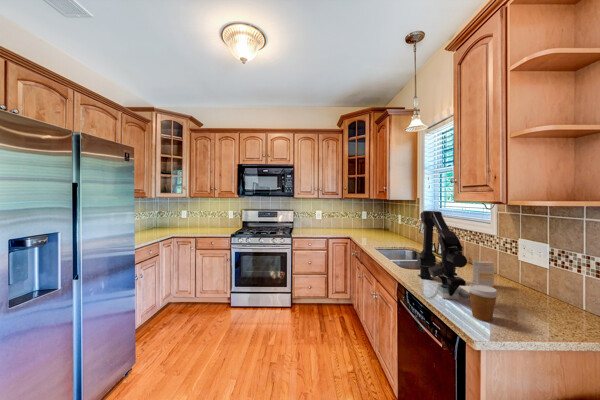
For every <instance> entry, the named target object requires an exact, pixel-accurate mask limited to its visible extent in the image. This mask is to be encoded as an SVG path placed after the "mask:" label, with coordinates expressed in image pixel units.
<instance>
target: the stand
mask: <svg viewBox="0 0 600 400" xmlns="http://www.w3.org/2000/svg"><path fill="white" fill-rule="evenodd" d="M469 285H470V284H466V286H459V287H458V289H459V295H461V296H462V297H463V298H470V292H469V290H468V287H469Z"/></svg>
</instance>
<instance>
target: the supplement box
mask: <svg viewBox="0 0 600 400" xmlns="http://www.w3.org/2000/svg"><path fill="white" fill-rule="evenodd" d="M472 284H482V285H487V286H490V287H493V288H494V287H495V262H492V261H490V260H472Z"/></svg>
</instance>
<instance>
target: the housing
mask: <svg viewBox="0 0 600 400" xmlns="http://www.w3.org/2000/svg"><path fill="white" fill-rule="evenodd" d="M437 295H438V296H441V297H442V298H441V297H440V298H441V299H443V298H445V299H444V300H459V299H460V298H459V297H460V294H459V289H458V288H457V290H456V291H455V293H454V294H453V296H449V289H448V285H446V284H442V283H439V284H437Z"/></svg>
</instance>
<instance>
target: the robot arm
mask: <svg viewBox="0 0 600 400" xmlns="http://www.w3.org/2000/svg"><path fill="white" fill-rule="evenodd" d="M420 220H421V224H422V225H423V240H422V241H423V243H422V244H423V245H422V250H421V252H420V253H419V257H418V259H417V260H416V266H417V267H418V268H419V269H420V270H419V272H420V273H419V274H417V276H418V277H419V278H420V279H422V280H434V278H439V279H440V281H441V282H440V283H441V284H446V285H448V289H449V296H453V294H454V293H455V291H456V290H457V288H458V287H459V286H466V285H467V283H466V280H464V279H463V278H462V277H461V276H458V273H457V272H456V269H457V268H464V267H465V266H467V264H468V260H467V259H468V258H467V257H466V256H465V255H463V251H464V250H463V245H462V243H461V242H460V238H459V237H458V236H457V234H456V232H453V231H452V230H451V229H450V228H449V226H448V224H447V223H446V220H445V219H444V217H443V214H442V212H441V211H437V210H422V212H421V213H420ZM434 227H435V228H436V230H437V233H438V242H439V245H440V248H439V249H440V250H441V261H439V263H438V265H437V260H436V259H437V257H436V255H435V254H434V252H433V247H434V246H433V241H434Z"/></svg>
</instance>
